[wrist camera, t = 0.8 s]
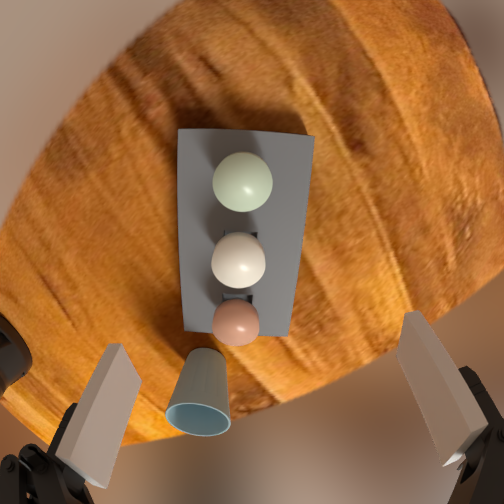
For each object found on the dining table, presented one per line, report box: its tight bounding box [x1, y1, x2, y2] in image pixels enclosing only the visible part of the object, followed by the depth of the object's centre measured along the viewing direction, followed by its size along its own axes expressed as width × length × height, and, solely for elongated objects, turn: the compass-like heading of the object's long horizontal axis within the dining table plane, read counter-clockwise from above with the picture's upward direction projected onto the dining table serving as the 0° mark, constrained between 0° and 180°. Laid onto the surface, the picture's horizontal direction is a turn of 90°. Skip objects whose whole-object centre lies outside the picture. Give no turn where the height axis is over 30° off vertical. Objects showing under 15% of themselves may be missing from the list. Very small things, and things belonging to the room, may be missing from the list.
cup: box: [165, 348, 231, 436], centre depth 34 cm, size 8×8×10 cm
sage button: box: [213, 152, 273, 212], centre depth 24 cm, size 5×5×4 cm
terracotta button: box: [212, 298, 259, 346], centre depth 30 cm, size 5×5×4 cm
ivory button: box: [211, 232, 265, 288], centre depth 27 cm, size 5×5×4 cm
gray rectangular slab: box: [177, 128, 315, 336], centre depth 30 cm, size 12×22×3 cm, turn 176°
